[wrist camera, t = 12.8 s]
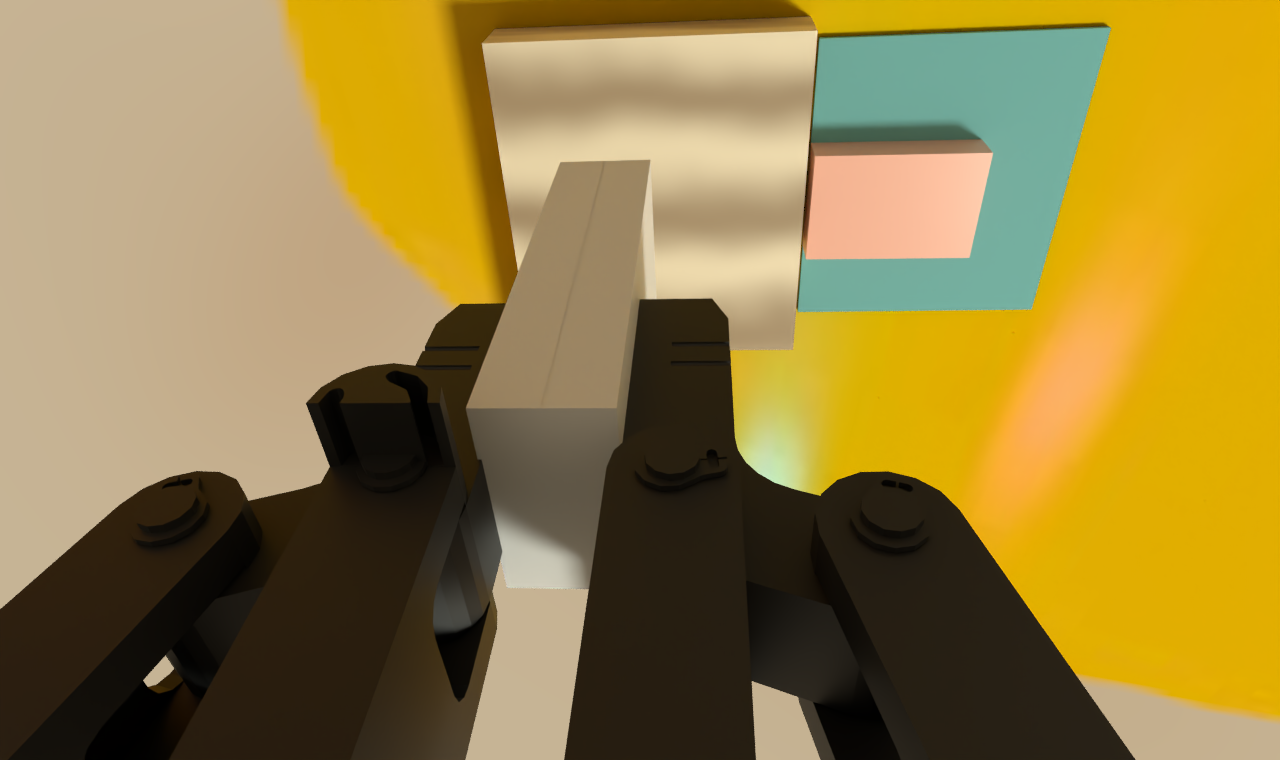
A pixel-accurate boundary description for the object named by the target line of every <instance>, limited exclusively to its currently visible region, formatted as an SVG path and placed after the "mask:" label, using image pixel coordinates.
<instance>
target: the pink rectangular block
mask: <svg viewBox="0 0 1280 760" xmlns="http://www.w3.org/2000/svg"><path fill="white" fill-rule="evenodd" d="M992 156H993V152H992V151H991V150H990V148H989V147H988V146H987V145H986V144H985V142H984V141H983V140H982V139H975V140H926V141H877V142H829V143H811V147H810V159H809V171H808V182H807V194H806V205H805V217H804V228H803V240H802V245H803V249H804V253H805V258H806V259H906V258H969V257H970V253H971V248H972V244H973V240H974V235H975V231H976V226H977V222H978V218H979V213H980V209H981V204H982V200H983V196H984V191H985V187H986V182H987V178H988V174H989V169H990V165H991V160H992Z"/></svg>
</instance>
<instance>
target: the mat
mask: <svg viewBox="0 0 1280 760" xmlns="http://www.w3.org/2000/svg"><path fill="white" fill-rule="evenodd" d="M1110 29H1111V28H1110V27H1109V26H1104V27H1078V28H1051V29H1025V30H998V31H972V32H945V33H919V34H892V35H866V36H839V37H819V43H818V56H817V68H816V81H815V94H814V106H813V119H812V132H811V143H829V142H877V141H926V140H975V139H982V140H983V141H984V142H985V144H986V145H987V146H988V147H989V148H990V150H991V151H992V152H993V156H992V160H991V165H990V169H989V174H988V178H987V182H986V187H985V191H984V196H983V200H982V204H981V209H980V213H979V218H978V222H977V226H976V231H975V235H974V240H973V244H972V248H971V253H970V257H969V258H906V259H806V258H805V253H804V249H803V246H802V259H801V271H800V284H799V297H798V312H830V311H923V310H1017V309H1032V305H1033V302H1034V298H1035V295H1036V291H1037V288H1038V284H1039V281H1040V277H1041V274H1042V270H1043V266H1044V263H1045V259H1046V256H1047V252H1048V249H1049V245H1050V242H1051V238H1052V235H1053V231H1054V228H1055V224H1056V220H1057V217H1058V213H1059V210H1060V206H1061V203H1062V199H1063V196H1064V192H1065V189H1066V185H1067V182H1068V178H1069V174H1070V171H1071V167H1072V164H1073V160H1074V157H1075V153H1076V150H1077V146H1078V143H1079V139H1080V136H1081V132H1082V128H1083V125H1084V121H1085V118H1086V114H1087V111H1088V107H1089V104H1090V100H1091V97H1092V93H1093V90H1094V86H1095V82H1096V79H1097V75H1098V72H1099V68H1100V65H1101V61H1102V58H1103V54H1104V51H1105V47H1106V44H1107V40H1108V36H1109V33H1110ZM810 147H811V144H810ZM809 159H810V157H809ZM808 171H809V170H808Z"/></svg>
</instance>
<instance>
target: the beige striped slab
mask: <svg viewBox="0 0 1280 760" xmlns="http://www.w3.org/2000/svg"><path fill="white" fill-rule="evenodd" d="M817 33H818V30H817V28H816V26H815V24H814V22H813V20H812V18H811V16H806V17H781V18H756V19H731V20H706V21H681V22H656V23H630V24H605V25H580V26H555V27H530V28H505V29H494V30H493V31H492V33H491V34H490V35H489V36H488V37H487V38H486V39H485V40H484V42H483V43H482V48H483V54H484V61H485V67H486V73H487V79H488V86H489V92H490V98H491V105H492V111H493V117H494V123H495V130H496V136H497V142H498V149H499V155H500V161H501V167H502V174H503V180H504V186H505V192H506V199H507V205H508V211H509V218H510V224H511V230H512V236H513V243H514V249H515V255H516V262H517V268H518V271H519V268H520V266H521V263H522V261H523V258H524V255H525V253H526V250H527V248H528V245H529V242H530V240H531V237H532V235H533V232H534V229H535V227H536V224H537V222H538V219H539V216H540V214H541V211H542V209H543V206H544V203H545V201H546V198H547V196H548V193H549V190H550V188H551V185H552V182H553V180H554V177H555V175H556V172H557V169H558V167H559V164H560V162H582V161H621V160H651V182H652V205H653V228H654V251H655V274H656V297H657V299H702V298H712V299H713V300H714V301H715V303H716V304H717V305H718V306H719V308H720V309H721V310H722V311H723V312H724V314H725V315H726V316H727V317H728V321H729V340H730V350H793V342H794V329H795V316H796V303H797V290H798V277H799V264H800V252H801V239H802V226H803V213H804V200H805V187H806V174H807V161H808V148H809V136H810V123H811V110H812V97H813V84H814V71H815V58H816V45H817Z"/></svg>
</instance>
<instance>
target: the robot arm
mask: <svg viewBox="0 0 1280 760" xmlns="http://www.w3.org/2000/svg"><path fill="white" fill-rule="evenodd" d="M306 405H307V407H308V410H309V412H310V415H311V418H312V420H313V423H314V426H315V428H316V431H317V434H318V436H319V439H320V441H321V444H322V447H323V449H324V452H325V455H326V457H327V460H328V462H329V465H330V468H329V470H328V471H327V473H326V475H325V477H324V479H323V480H322V482H321V483H320V484H317V485H313V486H310V487H307V488H304V489H300V490H295V491H291V492H286V493H282V494H277V495H273V496H268V497H264V498H259V499H255V500H251V501H248V500H247V497H246V495H245V493H244V491H243V490H242V488H241V487H240V485H239V483H238V481H237V480H236V479H234V478H232V477H230V476H227V475H225V474H223V473H221V472H203V471H196V472H191V473H186V474H182V475H177V476H173V477H169V478H167V479H164V480H162V481H160V482H157V483H155V484H153V485H151V486H148V487H146V488H144V489H142V490H140V491H139V492H138V493H136V494H135V495H133V496H132V497H131V498H129V499H127V500H126V501H125V502H123V503H122V504H120V505H119V506H118V507H117V508H115V509H114V510H113V511H112V512H111V513H110V514H109V515H107V516H106V517H105V518H104V519H103V520H102V521H101V522H99V524H97V525H96V526H95V527H94V528H93V529H91V530H90V531H89V532H88V533H87V534H86V535H85V536H83V538H81V539H80V540H79V541H78V542H77V543H75V544H74V545H73V546H72V547H71V548H70V549H69V550H67V551H66V552H65V553H64V554H63V555H62V556H61V557H59V558H58V559H57V560H56V561H55V562H54V563H53V564H52V565H50V566H49V567H48V568H47V569H46V570H45V571H44V572H42V573H41V574H40V575H39V576H38V577H37V578H36V579H34V580H33V581H32V582H31V583H30V584H29V585H28V586H26V587H25V588H24V589H23V590H22V591H21V592H20V593H19V594H17V595H16V596H15V597H14V598H13V599H12V600H10V601H9V602H8V603H7V604H6V605H5V606H4V607H3V608H1V609H0V760H465V758H466V754H467V750H468V746H469V742H470V737H471V734H472V729H473V725H474V721H475V717H476V713H477V709H478V705H479V701H480V696H481V692H482V688H483V684H484V680H485V675H486V672H487V667H488V663H489V659H490V655H491V650H492V647H493V643H494V638H495V634H496V630H497V609H496V605H495V601H494V597H493V593H492V590H493V586H494V582H495V578H496V574H497V571H498V566H499V563H500V559H501V564H502V568H503V572H504V576H505V581H506V585H507V588H549V589H550V588H551V589H552V588H553V589H589V592H588V599H587V606H586V612H585V620H584V626H583V633H582V640H581V648H580V655H579V662H578V668H577V675H576V682H575V689H574V696H573V703H572V710H571V716H570V723H569V731H568V738H567V745H566V752H565V759H564V760H756V755H755V736H754V718H753V700H752V683H751V682H752V681H754V682H757V683H759V684H762V685H765V686H768V687H771V688H774V689H777V690H780V691H783V692H786V693H789V694H792V695H794V696H797V697H798V698H799V703H800V705H801V708H802V711H803V714H804V716H805V719H806V722H807V724H808V727H809V730H810V732H811V735H812V737H813V740H814V743H815V746H816V748H817V751H818V754H819V757H820V759H821V760H1135V758H1134V757H1133V756H1132V754H1131V753H1130V751H1129V750H1128V748H1127V747H1126V746H1125V744H1124V743H1123V741H1122V740H1121V739H1120V737H1119V736H1118V735H1117V733H1116V731H1115V730H1114V729H1113V727H1112V726H1111V724H1110V723H1109V721H1108V720H1107V719H1106V717H1105V716H1104V715H1103V713H1102V712H1101V710H1100V709H1099V707H1098V706H1097V705H1096V703H1095V702H1094V700H1093V699H1092V697H1091V696H1090V695H1089V693H1088V692H1087V690H1086V689H1085V687H1084V686H1083V685H1082V683H1081V682H1080V680H1079V679H1078V678H1077V676H1076V675H1075V673H1074V672H1073V670H1072V669H1071V668H1070V666H1069V665H1068V663H1067V662H1066V660H1065V659H1064V658H1063V656H1062V655H1061V653H1060V652H1059V651H1058V649H1057V648H1056V646H1055V645H1054V643H1053V642H1052V641H1051V639H1050V638H1049V636H1048V635H1047V634H1046V632H1045V631H1044V629H1043V628H1042V626H1041V625H1040V624H1039V622H1038V621H1037V619H1036V618H1035V616H1034V615H1033V614H1032V612H1031V611H1030V609H1029V608H1028V607H1027V605H1026V604H1025V602H1024V601H1023V599H1022V598H1021V597H1020V595H1019V594H1018V592H1017V591H1016V590H1015V588H1014V587H1013V585H1012V584H1011V582H1010V581H1009V580H1008V578H1007V577H1006V575H1005V574H1004V573H1003V571H1002V570H1001V568H1000V567H999V565H998V564H997V563H996V561H995V560H994V558H993V557H992V555H991V554H990V553H989V551H988V550H987V548H986V547H985V546H984V544H983V543H982V541H981V540H980V538H979V537H978V536H977V534H976V533H975V531H974V530H973V529H972V527H971V526H970V524H969V523H968V521H967V520H966V519H965V517H964V516H963V514H962V513H961V511H960V510H959V509H958V508H957V507H956V506H955V505H954V504H953V503H952V502H951V501H950V500H949V499H948V498H947V497H946V496H945V495H944V494H943V493H942V492H941V491H939V490H937V489H935V488H933V487H932V486H930V485H928V484H926V483H924V482H922V481H920V480H918V479H916V478H913V477H909V476H904V475H900V474H896V473H892V472H860V473H857V474H854V475H851V476H848V477H845V478H842V479H839V480H837V481H836V482H835V483H833V484H832V485H831V486H830V487H829V488H828V489H826V490H825V491H824V492H823V493H822V494H821V496H818V495H814V494H810V493H806V492H802V491H798V490H794V489H791V488H788V487H785V486H782V485H780V484H777V483H774V482H772V481H770V480H769V479H767V478H765V477H763V476H762V475H760V474H758V473H757V472H756V471H755V470H754V469H753V468H751V467H750V466H749V465H748V464H747V463H746V462H745V460H744V459H743V457H742V456H741V454H740V453H739V451H738V449H737V445H736V441H735V432H734V414H733V395H732V377H731V358H730V340H729V321H728V317H727V316H726V315H725V314H724V312H723V311H722V310H721V309H720V308H719V306H718V305H717V304H716V303H715V301H714V300H713V299H712V298H702V299H657V297H656V274H655V251H654V228H653V205H652V182H651V160H621V161H582V162H560V164H559V167H558V169H557V172H556V175H555V177H554V180H553V182H552V185H551V188H550V190H549V193H548V196H547V198H546V201H545V203H544V206H543V209H542V211H541V214H540V216H539V219H538V222H537V224H536V227H535V229H534V232H533V235H532V237H531V240H530V242H529V245H528V248H527V250H526V253H525V255H524V258H523V261H522V263H521V266H520V268H519V271H518V274H517V276H516V279H515V281H514V284H513V287H512V289H511V292H510V295H509V297H508V300H507V302H506V303H503V304H460V305H459V306H458V307H456V308H455V309H454V310H453V311H451V312H450V313H449V314H448V315H447V316H445V317H444V318H443V319H442V320H440V321H439V322H438V323H437V324H436V325H435V328H434V329H433V331H432V333H431V335H430V337H429V339H428V342H427V343H426V346H425V351H423V352H422V353H421V355H420V357H419V359H418V361H417V364H416V366H412V365H403V364H395V363H393V364H384V365H375V366H368V367H365V368H362V369H359V370H356V371H353V372H350V373H346V374H344V375H341V376H340V377H338V378H336V379H335V380H333V381H331V382H330V383H328V384H326V385H325V386H323V387H321V388H320V389H319V390H318V391H317V392H316V393H315V394H314V395H313V396H312V397H311V399H310V400H309V401H308V402H307V403H306ZM165 655H166V657H167V658H168V660H169V661H170V662H171V664H172V666H173V667H174V670H173V671H172V672H171V673H170V674H169V675H168V676H167V677H165V678H164V679H163V680H162V681H160V682H159V683H158V684H157V685H154V686H150V687H147V686H146V684H145V683H144V681H143V680H144V679H145V677H146V676H147V675H148V674H149V673H150V672H151V671H152V669H154V667H155V666H156V665H157V664H158V663H159V662H160V661H161V659H162V658H163V657H164V656H165Z"/></svg>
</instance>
